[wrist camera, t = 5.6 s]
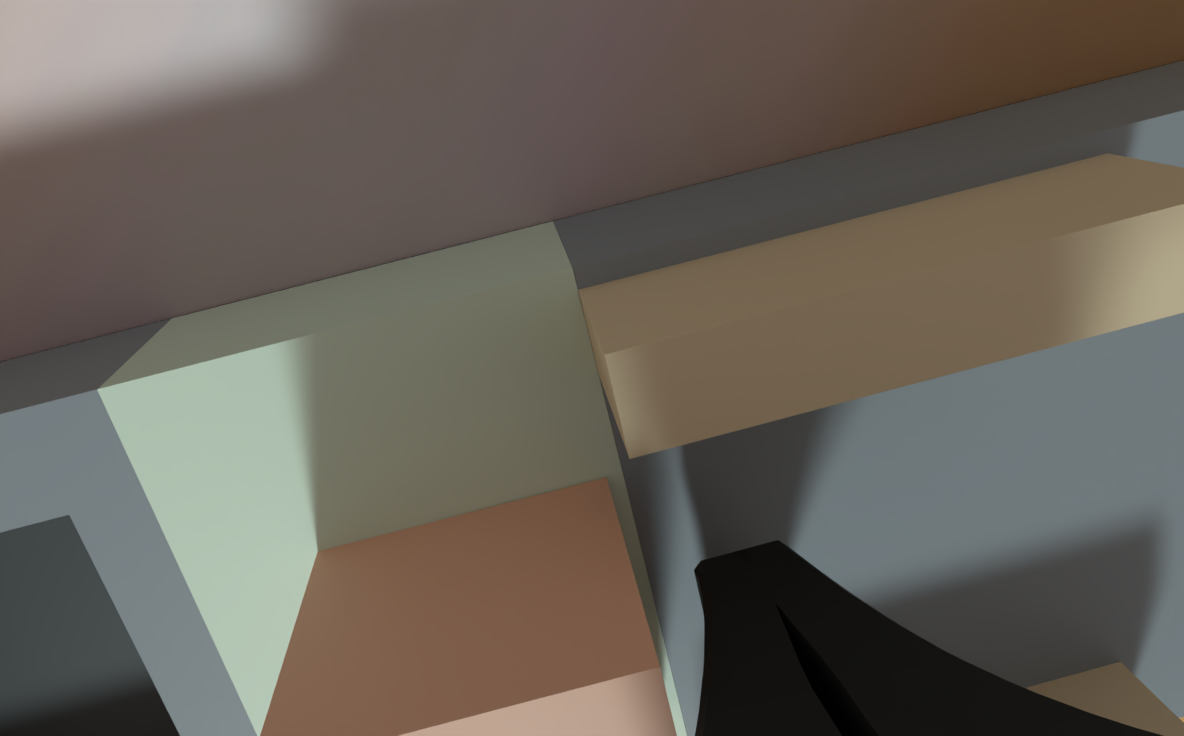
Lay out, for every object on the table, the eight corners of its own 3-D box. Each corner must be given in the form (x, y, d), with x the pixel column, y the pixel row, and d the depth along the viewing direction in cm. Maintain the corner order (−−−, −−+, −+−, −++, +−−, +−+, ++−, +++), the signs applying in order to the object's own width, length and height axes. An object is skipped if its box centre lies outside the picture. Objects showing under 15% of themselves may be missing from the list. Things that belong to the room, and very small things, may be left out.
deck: (1345, 19, 15) (1810, 13, 10) (1311, 545, 18) (1636, 745, 13) (-287, 434, 14) (-732, 671, 9) (13, 901, 17) (-179, 1263, 12)
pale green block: (552, 221, 14) (572, 267, 12) (676, 719, 18) (714, 847, 15) (171, 318, 14) (96, 389, 11) (373, 802, 18) (355, 947, 15)
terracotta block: (606, 477, 13) (659, 667, 9) (662, 706, 14) (730, 954, 10) (317, 551, 12) (247, 775, 9) (404, 776, 14) (377, 1049, 10)
